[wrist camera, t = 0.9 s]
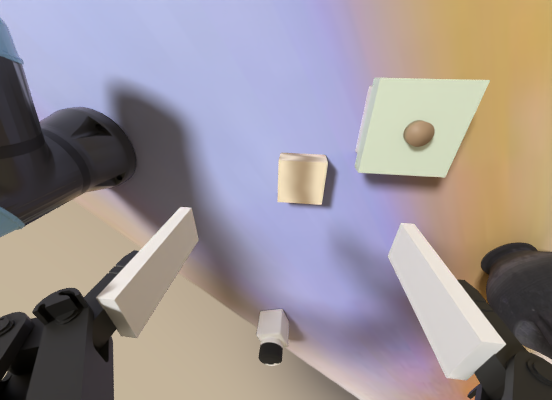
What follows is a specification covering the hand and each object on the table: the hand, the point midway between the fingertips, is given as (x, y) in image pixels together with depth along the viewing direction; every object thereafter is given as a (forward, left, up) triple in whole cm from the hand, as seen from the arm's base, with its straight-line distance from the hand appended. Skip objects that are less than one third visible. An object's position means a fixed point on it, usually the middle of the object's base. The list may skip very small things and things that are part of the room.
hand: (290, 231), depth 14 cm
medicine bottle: (-3, -54, -27) cm, 61 cm away
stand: (+1, -7, -26) cm, 27 cm away
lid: (+15, +3, -21) cm, 26 cm away
